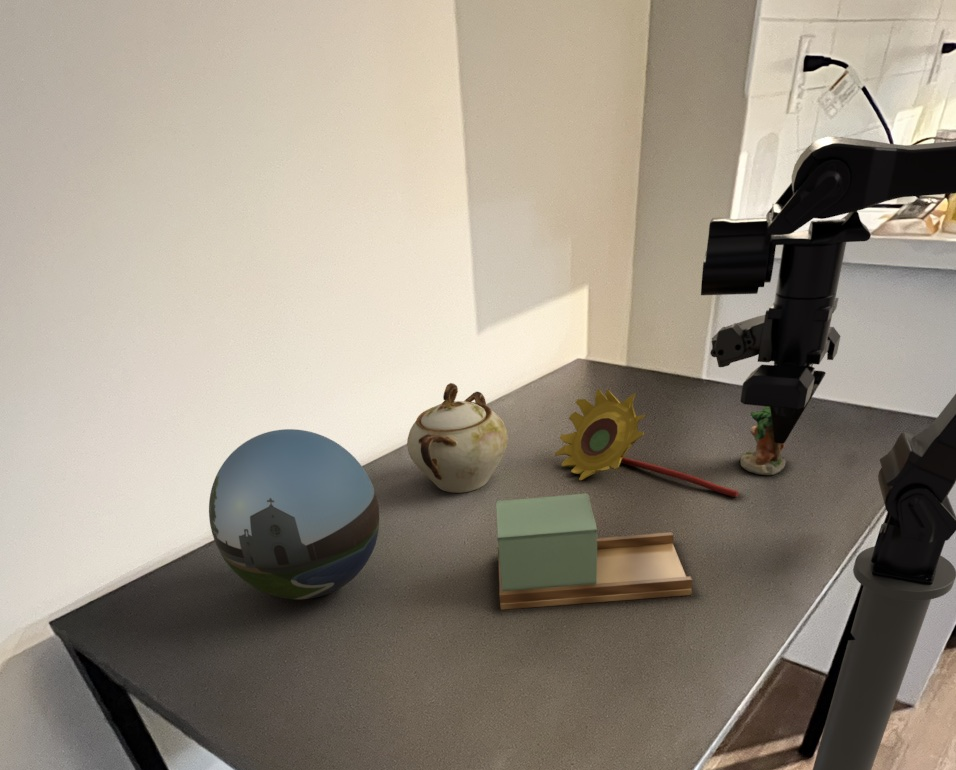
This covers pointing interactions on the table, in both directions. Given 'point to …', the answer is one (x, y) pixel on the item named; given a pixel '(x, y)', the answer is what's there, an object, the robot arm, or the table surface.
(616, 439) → the decorative flower
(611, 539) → the dock
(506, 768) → the table surface
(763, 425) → the figurine
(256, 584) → the decorative sphere
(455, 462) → the sugar bowl
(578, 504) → the cover
